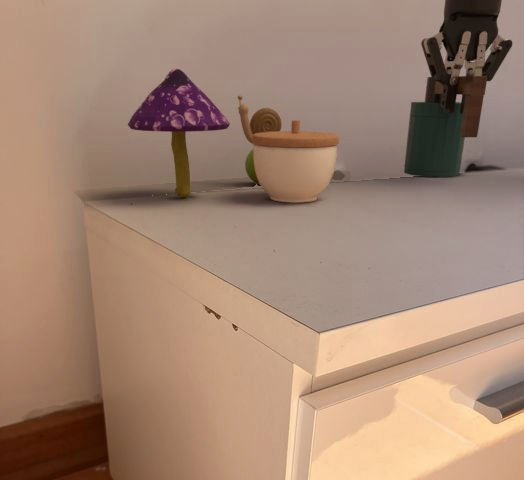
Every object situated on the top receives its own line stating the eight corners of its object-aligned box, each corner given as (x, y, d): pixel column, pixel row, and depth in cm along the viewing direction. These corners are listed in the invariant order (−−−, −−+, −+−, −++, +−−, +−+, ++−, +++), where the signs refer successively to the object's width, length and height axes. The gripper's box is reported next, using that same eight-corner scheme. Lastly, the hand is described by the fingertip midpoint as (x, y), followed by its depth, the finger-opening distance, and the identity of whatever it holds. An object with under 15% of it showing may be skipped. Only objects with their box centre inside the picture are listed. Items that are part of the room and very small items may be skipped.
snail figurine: (235, 182, 86) (234, 95, 80) (276, 181, 87) (277, 95, 82) (242, 188, 81) (242, 95, 76) (286, 186, 82) (288, 95, 77)
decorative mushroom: (182, 186, 82) (176, 70, 75) (250, 196, 75) (250, 69, 68) (113, 198, 73) (99, 68, 66) (183, 211, 66) (175, 66, 59)
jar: (443, 169, 101) (452, 101, 96) (469, 176, 93) (480, 103, 88) (395, 170, 99) (402, 101, 95) (418, 177, 91) (427, 103, 87)
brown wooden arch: (481, 137, 82) (491, 76, 79) (460, 137, 82) (470, 75, 78) (435, 130, 95) (442, 77, 92) (417, 130, 94) (423, 77, 91)
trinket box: (289, 209, 67) (292, 124, 63) (235, 197, 74) (234, 119, 70) (352, 200, 73) (358, 121, 69) (296, 189, 80) (298, 117, 76)
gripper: (443, -31, 73) (425, 114, 81) (538, -26, 76) (513, 114, 83) (417, -21, 80) (403, 112, 87) (506, -17, 83) (485, 112, 90)
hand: (457, 113), depth 85 cm, fingers closed on brown wooden arch, 2 cm apart
